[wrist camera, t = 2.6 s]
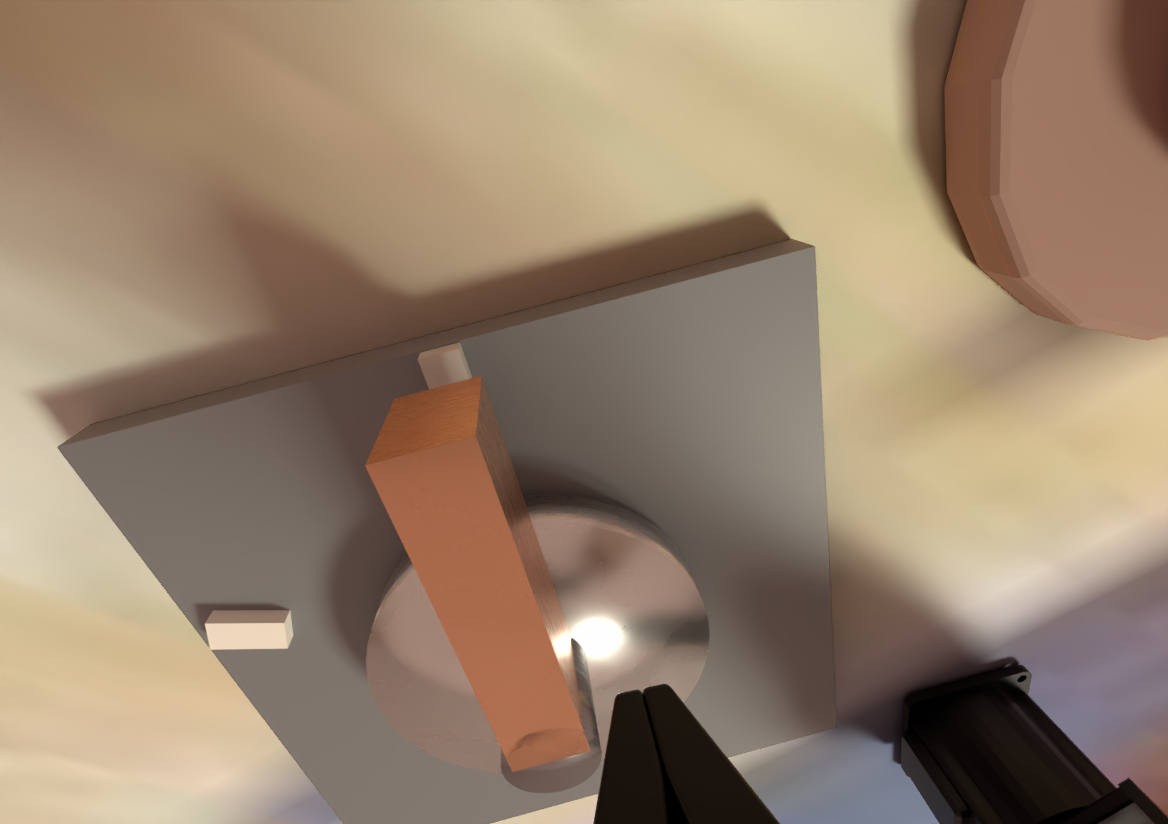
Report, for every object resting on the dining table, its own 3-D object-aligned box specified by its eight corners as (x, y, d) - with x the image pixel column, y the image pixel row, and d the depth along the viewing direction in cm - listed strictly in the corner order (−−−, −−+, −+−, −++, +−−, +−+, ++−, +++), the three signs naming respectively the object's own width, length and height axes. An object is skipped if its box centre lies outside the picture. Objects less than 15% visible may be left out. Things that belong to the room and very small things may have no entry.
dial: (713, 688, 24) (763, 818, 19) (441, 762, 24) (426, 912, 19) (641, 312, 17) (694, 377, 12) (244, 417, 16) (141, 525, 12)
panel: (791, 239, 18) (825, 249, 16) (820, 699, 28) (843, 739, 26) (90, 424, 18) (41, 457, 16) (375, 822, 28) (365, 872, 26)
